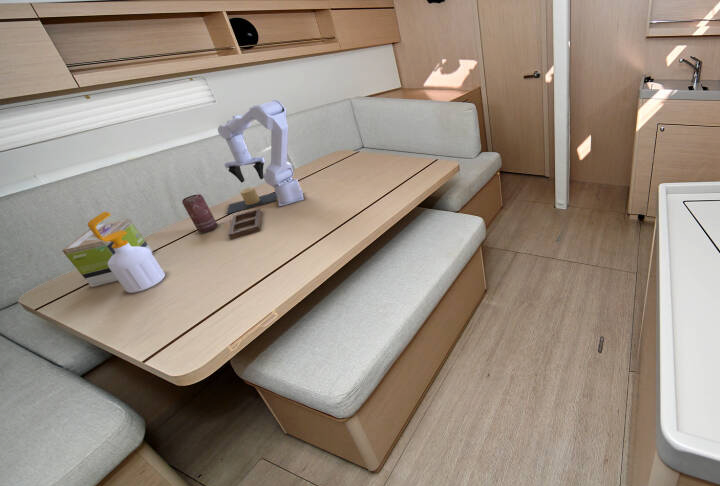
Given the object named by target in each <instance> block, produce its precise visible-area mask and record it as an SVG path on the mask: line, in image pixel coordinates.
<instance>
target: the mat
mask: <svg viewBox="0 0 720 486" xmlns="http://www.w3.org/2000/svg"><path fill="white" fill-rule="evenodd" d="M258 197H259V200H260V201H259V202H257V203H255V204H252V205H246V203H245V201H244V200H241V201H238V202H234V203H230V204H229V205H228V209H227V211H226V214H227V215H230V214H233V213H237V212H241V211H244V210H249V209H252V208H256V207H260V206H263V205H266V204H271V203H274V202H277V199H278V197H277V195H276V192H275V191H274V192H271V193H267V194H263V195H260V196H258Z"/></svg>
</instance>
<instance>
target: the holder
mask: <svg viewBox="0 0 720 486" xmlns="http://www.w3.org/2000/svg"><path fill="white" fill-rule="evenodd" d="M262 213H263V212H262V210H261V208H260V207H259V208H256V209H251V210H249V211H245V212H241V213H238V214H234V215H232V219H231V221H230V222H231V224H230V227H229V231H228V237H229V240H233V239H237V238H240V237H243V236H247V235H250V234H253V233H256V232H260V231H261V221H262ZM247 218H248V219H247ZM251 225H253V226H251ZM248 226H249V227H248ZM244 227H246V228H244ZM240 228H242V229H240ZM237 229H240V230H237Z"/></svg>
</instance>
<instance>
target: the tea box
mask: <svg viewBox="0 0 720 486" xmlns="http://www.w3.org/2000/svg"><path fill="white" fill-rule="evenodd" d="M96 228H97V230H98V232H99V233H100V235H101V236H102V237H105V236H108V235H110V234H112V233H115V232H117V231H120V230H123V231H125V232H127V234H125V235H123V238H121V239H122V241H124V240H127V241H128V243H129V244H130V246H132V247H135V246H139V247H146V248H148V249H149V250H150V252H151V253H152V254H153V253H154V251H153V249H152V248H151V246H150V245H149V244H148V243H147V241H146V240H145V238H144V237H143V235H142V234H141V232H140V231H139V230H138V228H137V226H136V225H135V224H134V223H133V221H132V220H131V218H129V217H128V218H125V219H120V220H116V221H112V222H106V223H102V224H97V225H96ZM114 244H115V243H114V242H110V241H108V242H105V241H102V240H100V239H98V238H96V237H95V235H94V234H93V232H92V231H91V230H90V228H89V229H88V230H86V231H85V232H84V233H82V234H80V235H79V236H78V237H77V238H76V239H74V241H72V242H71V243H69V244H68V245H67V246H66V247H64V248H63V249H62V250H61V252H63V255H64V256H66V258H67V259H68V260H69V261H70V262H71V264H72V265H73V267H75V269H76V270H77V271H78V273H79V274H80V275H81V276H82V278H84V280H85V281H86V282H87V284H88V285H89V286H90V287H91V288H94V287H98V286H103V285H107V284H110V283H114V282H119V281H118V279H117V278H116V277H115V275H114V274H113V272H112V271H111V270H110V268H109V267H108V261H109V260H110V258H111V257H112V256H113V255H114V254H115V250H114V249H113V247H112V245H114Z"/></svg>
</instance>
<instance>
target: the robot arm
mask: <svg viewBox="0 0 720 486" xmlns="http://www.w3.org/2000/svg"><path fill="white" fill-rule="evenodd" d="M287 112H288V111H287V108H286V106H284V105H283V103H282V102H281V101H279V100H277V99H273V100H271V101H267V102H265V103H261V104H256V105H253V106H251V107H249V109H248V110H247V111H246V112H245V113H244V114H242V115H241V114H234V115H233V116H232V119H228V120H227V121H226V123H225V124H220V125H219V126H218V127H217V132H218V135H219V136H220V137H221V138H222V139H224V140H225V141H226V144H227V146H228V148H229V150H230V152H231V154H232V156H233V159H234V160H232V161H229V162H225V163H224V164H223V165H224V167H225V169H228V170H227V171H228V172H229V173H231V174H232V175H233V176H234V177H236V178H237V179H238V181H239V182H240V183H244V182H245V181H246V180H245V178H244V175H243V172H242V170H241V169H242V168H241V167H242V166H248V165H253V166H252V167H253V168H254V169H255V171H256V173H257V175H258V177H259V179H260V180H263V179H264V181H265V183H266V184H267V185H269V186H270V187H273V189H274V193H275V192H276V195H277V199H278V207H283V206H287V205H291V204H294V203H297V202H301V201H304V192H303V189H302V188H301V185H300V182H299V180H298V179H297V178H293V176H294V174H295V173H294V172H295V171H294V169H293V165H292V163H290V162H289V161H288V143H289V125H288V121H287ZM255 120H256V121H258V123H259V124H260V125H262V126H263V127H264V128H265V129H266V130H271V131H270V139H271V140H270V163H269V165H267V167H266V169H265V173H264V166H265V162H266V159H265V156H261V157H252V156H251V153H250V151H249V148H248V146H247V144H246V142H245V140H244V139H245V136H244V131H246V130H247V129H249V128H250V127H251V125H252V122H254V121H255Z"/></svg>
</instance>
